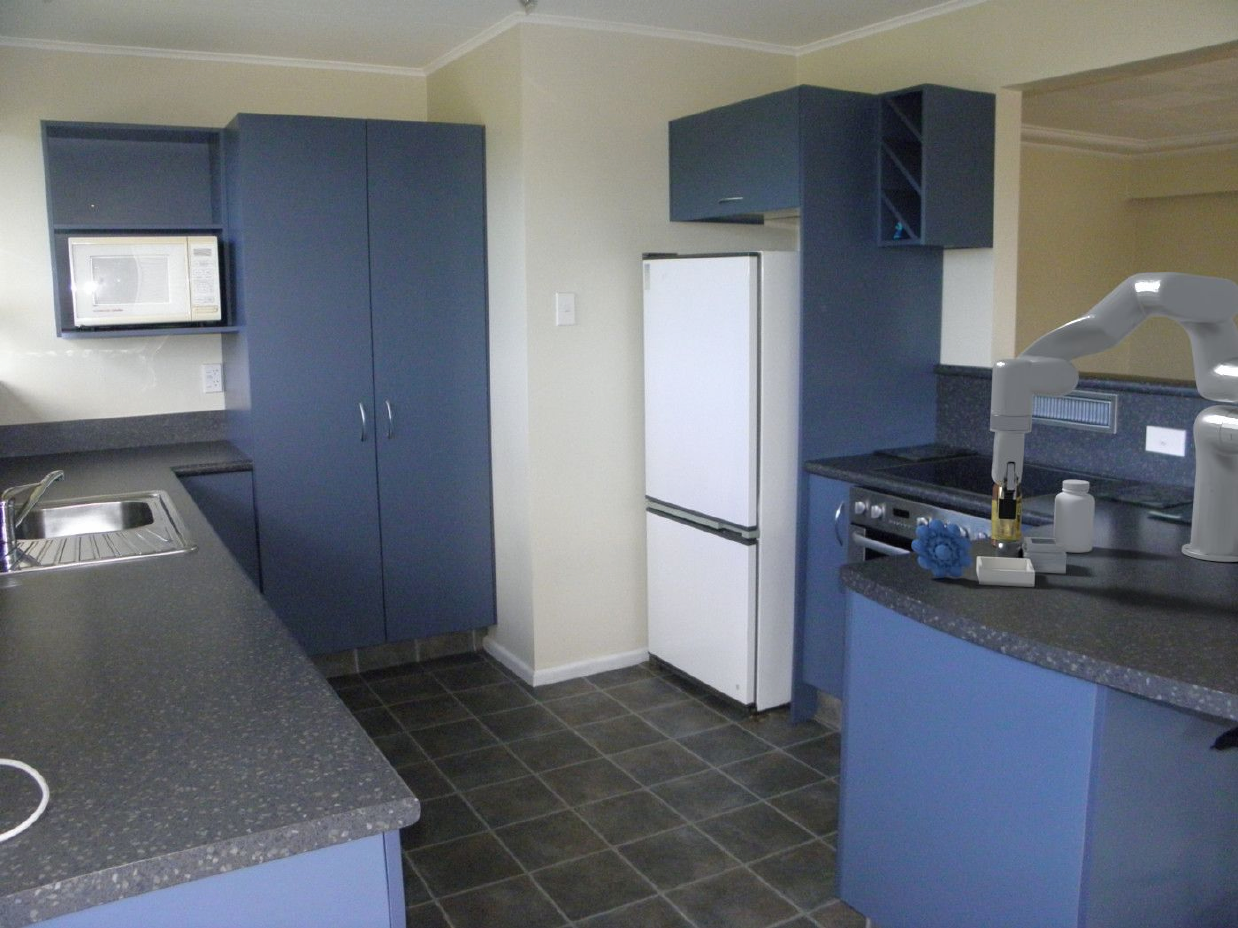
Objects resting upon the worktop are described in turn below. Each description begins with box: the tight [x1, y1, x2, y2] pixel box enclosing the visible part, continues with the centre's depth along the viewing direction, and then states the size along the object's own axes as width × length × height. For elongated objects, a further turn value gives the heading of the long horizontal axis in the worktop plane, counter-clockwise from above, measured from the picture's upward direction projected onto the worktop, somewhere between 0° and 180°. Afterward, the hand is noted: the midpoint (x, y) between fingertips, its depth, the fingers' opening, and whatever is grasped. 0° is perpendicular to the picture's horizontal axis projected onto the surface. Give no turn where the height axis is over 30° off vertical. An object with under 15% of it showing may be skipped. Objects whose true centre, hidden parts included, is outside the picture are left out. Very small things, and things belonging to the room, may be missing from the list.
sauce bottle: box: [990, 482, 1023, 548], centre depth 232 cm, size 6×6×20 cm
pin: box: [996, 480, 1020, 536], centre depth 206 cm, size 4×4×11 cm
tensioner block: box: [995, 536, 1067, 575], centre depth 216 cm, size 13×8×6 cm, turn 74°
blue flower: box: [911, 518, 974, 579], centre depth 208 cm, size 12×7×12 cm, turn 77°
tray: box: [975, 555, 1036, 588], centre depth 208 cm, size 10×10×3 cm
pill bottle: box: [1052, 479, 1096, 554], centre depth 229 cm, size 8×8×15 cm
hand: (1006, 515), depth 206 cm, fingers closed on pin, 3 cm apart
